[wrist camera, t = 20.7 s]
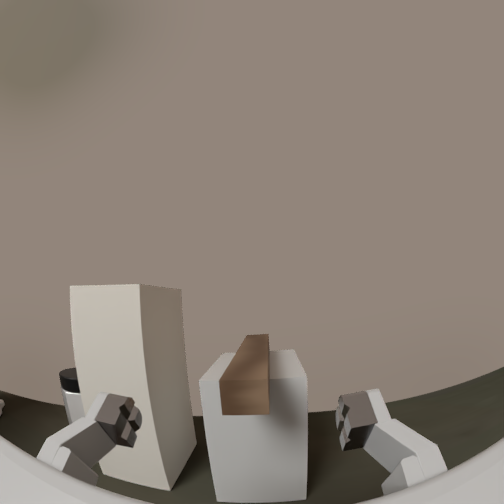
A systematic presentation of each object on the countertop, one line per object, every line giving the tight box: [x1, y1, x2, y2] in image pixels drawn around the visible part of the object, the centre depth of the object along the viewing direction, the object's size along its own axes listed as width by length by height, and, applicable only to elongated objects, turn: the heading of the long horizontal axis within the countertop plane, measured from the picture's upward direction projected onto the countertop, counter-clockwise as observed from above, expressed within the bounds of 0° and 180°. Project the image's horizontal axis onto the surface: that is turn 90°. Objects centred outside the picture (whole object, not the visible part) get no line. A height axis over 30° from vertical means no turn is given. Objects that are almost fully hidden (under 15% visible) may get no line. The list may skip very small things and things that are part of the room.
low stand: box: [199, 349, 308, 503], centre depth 28 cm, size 10×14×16 cm
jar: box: [59, 368, 85, 424], centre depth 34 cm, size 9×8×12 cm
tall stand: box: [70, 284, 197, 491], centre depth 31 cm, size 10×14×26 cm
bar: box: [219, 334, 270, 415], centre depth 26 cm, size 3×22×2 cm, turn 177°
